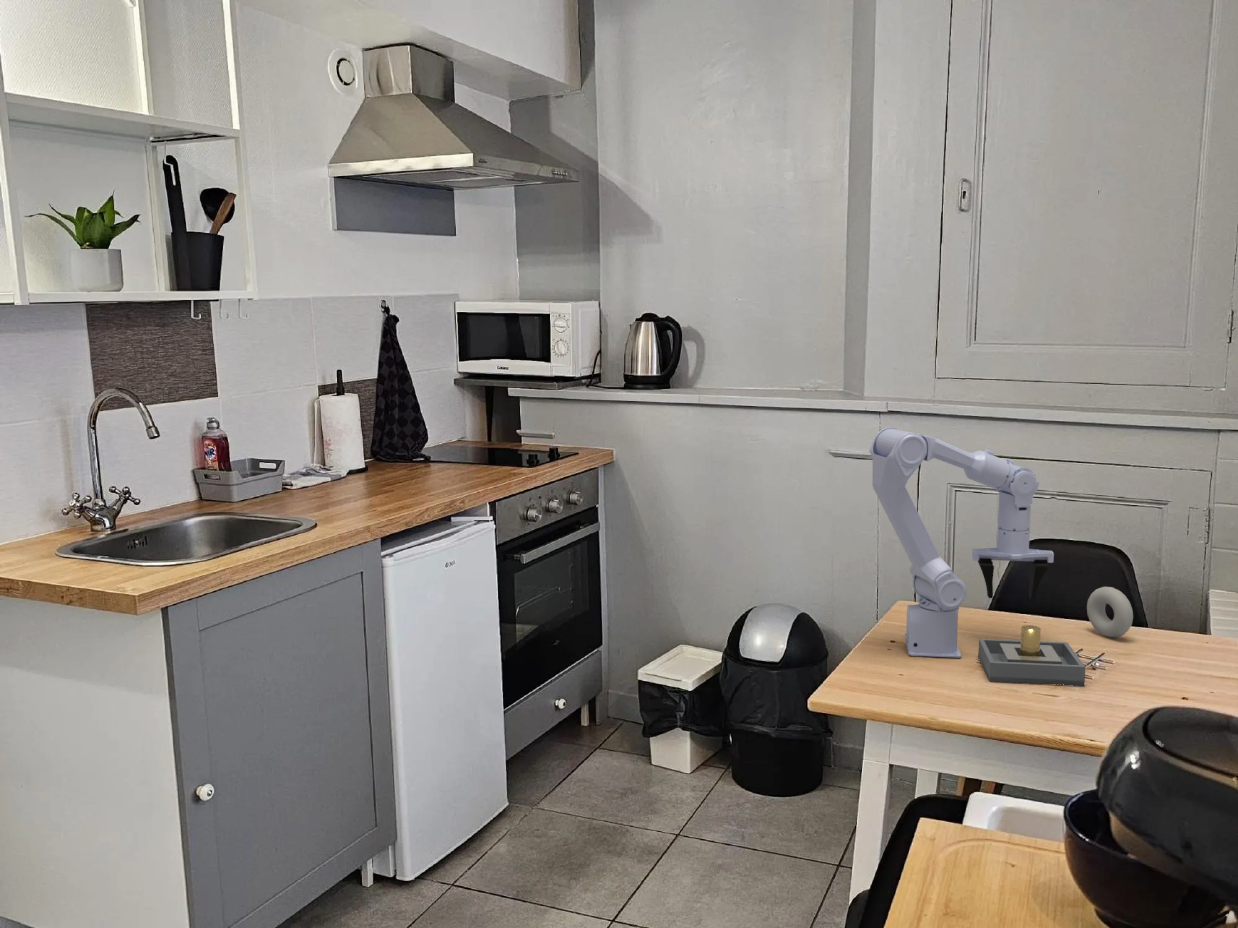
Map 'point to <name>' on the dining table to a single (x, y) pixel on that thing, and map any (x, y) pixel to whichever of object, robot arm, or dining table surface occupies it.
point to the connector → (1030, 641)
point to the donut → (1119, 606)
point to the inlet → (1013, 655)
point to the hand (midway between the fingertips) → (1010, 597)
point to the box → (1031, 665)
